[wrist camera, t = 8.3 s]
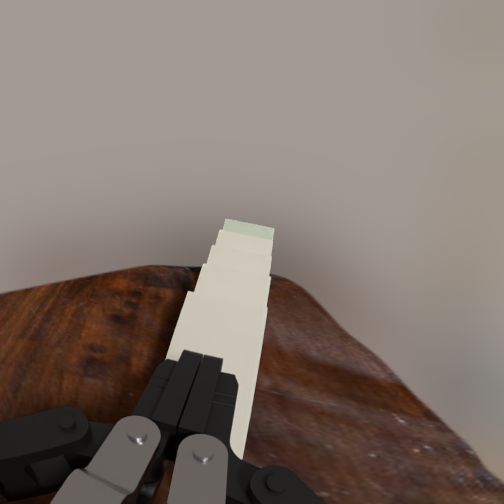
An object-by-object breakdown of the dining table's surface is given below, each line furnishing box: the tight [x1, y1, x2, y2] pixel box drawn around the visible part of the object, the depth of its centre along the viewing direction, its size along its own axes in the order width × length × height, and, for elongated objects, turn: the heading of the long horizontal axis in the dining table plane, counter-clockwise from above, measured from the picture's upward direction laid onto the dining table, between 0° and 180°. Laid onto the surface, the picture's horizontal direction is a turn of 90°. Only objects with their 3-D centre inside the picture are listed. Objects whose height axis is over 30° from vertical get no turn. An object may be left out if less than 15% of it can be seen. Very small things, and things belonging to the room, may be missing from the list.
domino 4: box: [194, 264, 271, 307], centre depth 18 cm, size 5×2×10 cm
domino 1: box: [223, 219, 274, 240], centre depth 27 cm, size 5×2×10 cm
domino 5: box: [165, 291, 268, 460], centre depth 14 cm, size 5×2×10 cm
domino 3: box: [207, 245, 272, 277], centre depth 21 cm, size 5×2×10 cm
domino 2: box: [216, 230, 273, 257], centre depth 24 cm, size 5×2×10 cm
